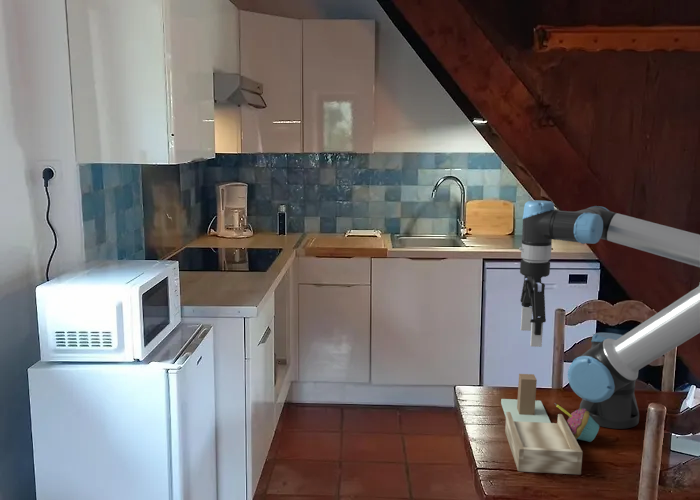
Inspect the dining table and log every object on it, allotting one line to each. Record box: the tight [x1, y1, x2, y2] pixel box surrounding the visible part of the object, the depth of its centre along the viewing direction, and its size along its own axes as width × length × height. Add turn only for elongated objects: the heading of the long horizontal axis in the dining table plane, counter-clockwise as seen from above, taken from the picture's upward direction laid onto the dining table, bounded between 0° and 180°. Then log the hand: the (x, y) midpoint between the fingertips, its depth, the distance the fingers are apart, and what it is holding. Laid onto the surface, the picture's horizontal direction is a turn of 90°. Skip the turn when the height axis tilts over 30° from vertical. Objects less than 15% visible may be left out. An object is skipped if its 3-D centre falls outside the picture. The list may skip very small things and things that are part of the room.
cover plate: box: [500, 373, 552, 423], centre depth 180 cm, size 11×16×12 cm
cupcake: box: [554, 403, 600, 443], centre depth 167 cm, size 9×8×12 cm
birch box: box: [504, 412, 584, 475], centre depth 161 cm, size 14×20×6 cm
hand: (530, 338), depth 177 cm, fingers open, 13 cm apart
